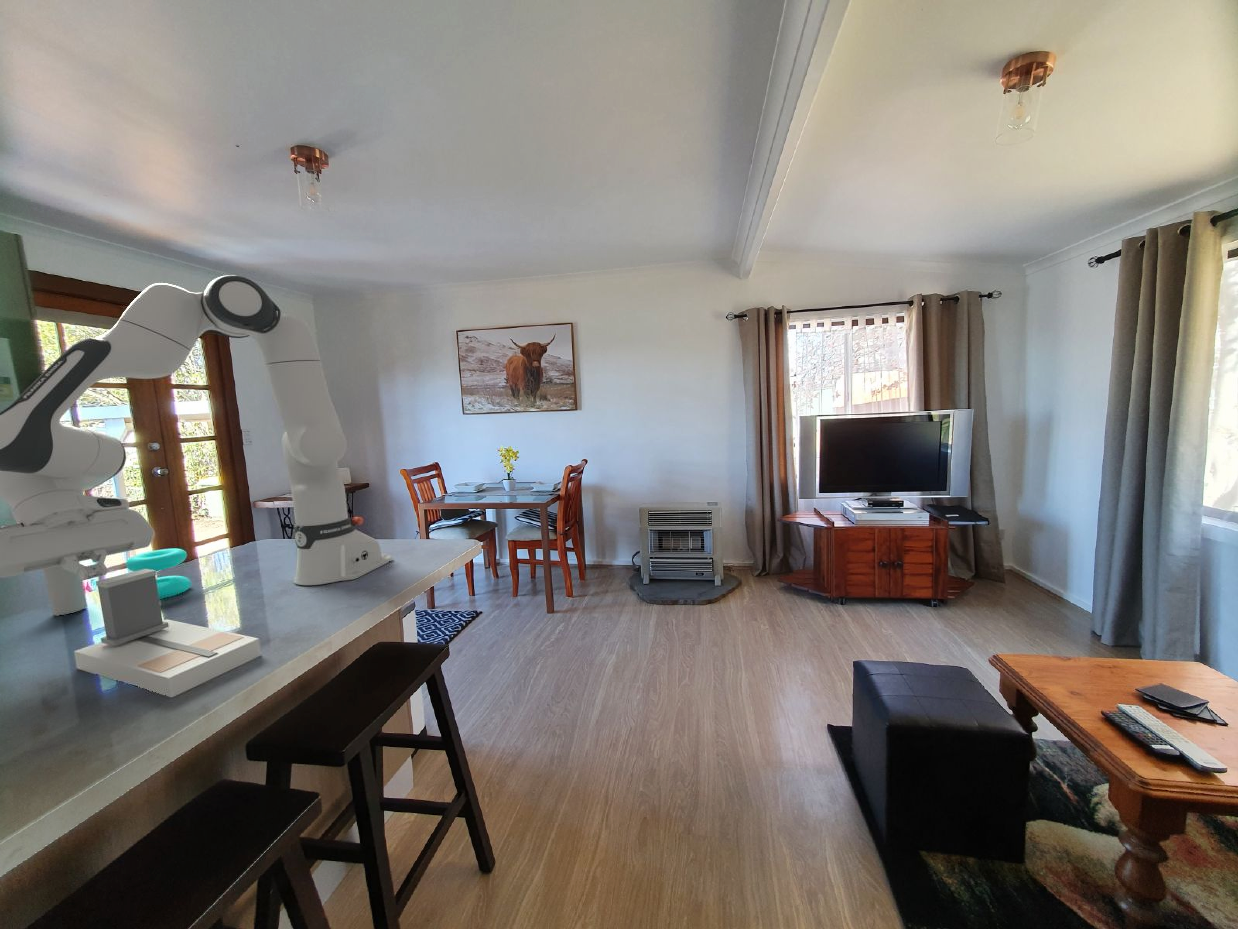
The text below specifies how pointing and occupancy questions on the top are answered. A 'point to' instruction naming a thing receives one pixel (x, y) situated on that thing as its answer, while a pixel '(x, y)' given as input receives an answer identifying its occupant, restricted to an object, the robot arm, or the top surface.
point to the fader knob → (130, 606)
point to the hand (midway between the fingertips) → (95, 575)
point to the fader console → (170, 657)
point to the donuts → (160, 562)
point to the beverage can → (64, 591)
